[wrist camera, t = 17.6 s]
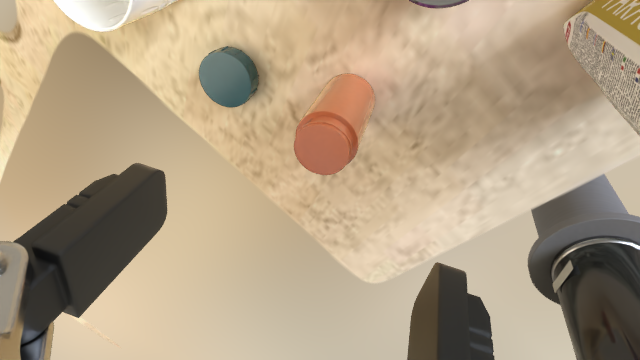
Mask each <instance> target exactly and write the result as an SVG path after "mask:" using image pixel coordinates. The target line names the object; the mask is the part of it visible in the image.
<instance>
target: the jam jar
mask: <svg viewBox="0 0 640 360" xmlns="http://www.w3.org/2000/svg"><path fill="white" fill-rule="evenodd" d="M374 105H375V96H374V92H373V90H372V88H371V86H370V85H369V83H368V82H367V81H366V80H364V79H363V78H361V77H359V76H357V75H354V74H341V75H338V76H336V77H334V78H333V79H331V80H330V81H329V82H328V83H327V85H326V86H325V88H324V89H323V90H322V92H321V93H320V95H319V96H318V97H317V99H316V100H315V102H314V103H313V104H312V106H311V107H310V108H309V110H308V111H307V113H306V114H305V115H304V117H303V118H302V120H301V121H300V123H299V124H298V126H297V129H296V138H295V142H294V150H295V154H296V157H297V159H298V160H299V162H300V163H301V164H302V165H303V166H304V167H305V168H306V169H308V170H309V171H311V172H314V173H316V174H321V175H330V174H334V173H337V172H339V171H340V170H342V169H343V168H344V167H345V165H347V164H348V163H349V162H351V161H352V159H353V158H354V157H355V155H356V153H357V150H358V148H359V145H360V143H361V140H362V137H363V135H364V132H365V130H366V127H367V124H368V122H369V119H370V117H371V114H372V111H373V109H374Z"/></svg>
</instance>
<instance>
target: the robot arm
mask: <svg viewBox="0 0 640 360" xmlns="http://www.w3.org/2000/svg"><path fill="white" fill-rule="evenodd" d="M165 182H166V181H165V174H164V172H163V171H161V170H158V169H155V168H152V167H149V166H146V165H143V164H140V163H135V164H133V165H131V166H130V167H129V168H127V169H126V170H125V171H124V172H122V173H121V174H120V175H116V174H112V175H110V176H107V177H104V178H102V179H99V180H97V181H94V182H93V183H92V184H90V185H89V186H88V187H87V188H85V189H84V190H82V191H81V192H80V193H79V195H76V196H74V197H73V198H72V199H70V200H69V201H68V202H67V204H66V205H65V204H64V205H62V206H61V207H60V208H58V209H57V210H56V211H54V212H53V213H52V214H50V215H49V216H48V217H46V218H45V219H44V220H42V221H41V222H40V223H38V224H37V225H36V226H34V227H33V228H32V229H30V230H29V231H27V232H26V233H25V234H23V235H22V236H21V237H20V238H18V239H17V240H15V241H14V242H9V241H0V360H50V356H51V348H52V340H53V331H54V323H53V321H54V320H55V319H56V318H57V317H58V316H59V315H60V314H61V313H62V312H64V313H67V314H70V315H72V316H75V317H78V318H79V317H80V316H81V315H82V314H83V313H84V312H85V310H86V309H87V308H88V307H89V306H90V305H91V304H92V303H93V302H94V301H95V300H96V299H97V297H98V296H99V295H100V294H101V293H102V292H103V291H104V290H105V289H106V288H107V286H108V285H109V284H110V283H111V282H112V281H113V280H114V279H115V278H116V277H117V276H118V275H119V273H120V272H121V271H122V270H123V269H124V268H125V267H126V266H127V265H128V264H129V263H130V262H131V260H132V259H133V258H134V257H135V256H136V255H137V254H138V253H139V252H140V251H141V250H142V249H143V247H144V246H145V245H146V244H147V243H148V242H149V241H150V240H151V239H152V238H153V236H154V235H155V234H156V233H157V232H158V231H159V230H160V228H161V227H162V225H163V224H164V221H165V219H166V215H167V199H166V183H165ZM550 270H551V277H552V280H553V288H554V292H556V291H557V293H558V297H559V300H560V304H561V307H562V311H563V314H564V318H565V321H566V324H567V328H568V331H569V335H570V338H571V341H572V345H573V348H574V352H575V355H576V359H577V360H640V243H638V242H636V241H634V240H631V239H628V238H624V237H618V236H595V237H589V238H585V239H582V240H578V241H576V242H574V243H572V244H570V245H568V246H566V247H565V248H563V249H562V250H561V251H560V252H559V253H558V254H557V255H556V256H555V258H554V259H553V261H552V264H551V269H550ZM491 336H492V332H491V323H490V316H489V314H488V312H487V310H486V308H485V306H484V304H483V302H482V300H481V298H480V297H477V296H474V295H471V294H468V293H467V278H466V273H465V272H464V271H462V270H459V269H456V268H453V267H450V266H447V265H444V264H441V263H435V265H434V266H433V268H432V270H431V272H430V273H429V275H428V277H427V279H426V281H425V283H424V285H423V287H422V288H421V290H420V292H419V294H418V296H417V298H416V301H415V303H414V307H413V310H412V316H411V325H410V336H409V346H408V358H407V360H494V356H493V352H494V351H493V342H492V339H491Z"/></svg>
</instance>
